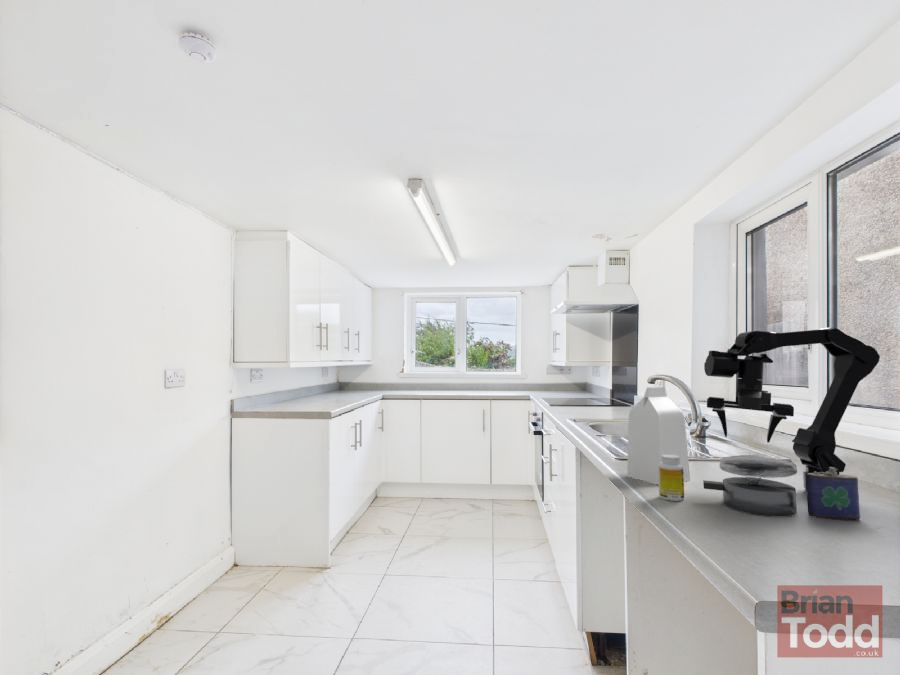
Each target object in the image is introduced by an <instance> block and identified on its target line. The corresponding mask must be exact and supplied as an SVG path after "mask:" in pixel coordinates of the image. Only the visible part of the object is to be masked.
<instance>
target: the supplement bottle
mask: <svg viewBox="0 0 900 675" xmlns="http://www.w3.org/2000/svg"><path fill="white" fill-rule="evenodd" d="M679 463H680V460H679V456H676V455H662V463H659V465H658V475H659V485H658V495H659V498H661V499H662V500H665V501H669V500H670V501H671V502H681V501H683V500H684V499H685V482H684V474H683V466H682V465H681V464H679Z"/></svg>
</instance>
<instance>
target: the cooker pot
mask: <svg viewBox="0 0 900 675" xmlns="http://www.w3.org/2000/svg"><path fill="white" fill-rule="evenodd" d="M702 484H703V489H705V490H711V491H712V490H714V491H722V497H723V498H722V501H723V502H722V503H723V504H724V505H725V506H726V507H728V508H730V509H732V510H734V511H738V512H742V513H746V514H749V513H750V515H755V514H756V516H761V515H763V516H762V517H771V516H787V517H793V516H795V515H797V513H798V512H797V511H798V510H797V492H796V491H797V489H796V487H794V485H790V484H788V483H784V482H781V481H777V480H772V479H771V480H770V479H768V478H759V477H748V476H739V477H738V476H737V477H736V476H735V477H727V478H724V479H722V482H721V481H714V480H713V481H712V480H703V482H702ZM792 515H793V516H792Z"/></svg>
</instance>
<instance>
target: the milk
mask: <svg viewBox="0 0 900 675" xmlns="http://www.w3.org/2000/svg"><path fill="white" fill-rule="evenodd" d="M627 433H628V434H627V439H628V440H627V467H626V468H627V470H626V471H627V474H626V477H627V476H628V477H627V478H630V477H632V478H631V479H634V478H636V479H635V480H637V479H640V480H639V481H641V480H644V481H643V482H645V481H647V482H646V483H649V482H651V483H650V484H652V483H654V484H653V485H656V484H658V485H657V486H659V475H658V465H659V463H662V455H676V456H679V460H680V463H679V464H681V465H682V466H683V474H684V481H686V482H690V481H691V473H690V472H691V471H690V461H689V451H688V450H689V449H688V440H687V431H686V418H685V415H684V412H683V411H682V410H681V409H680V408H679V407H678V406H677V404H676V403H674V401H673V400H671V399H670V398H669V397H668V394H667V391H666V387H665V386H652V387H651V386H647V387H646V389H645V392H644V396H643V398H641V399H640V400H639V401H638V402H637V403H636V404H635V405H634V406H633V407H632V408H631V410H630V411H629V413H628V429H627ZM689 480H690V481H689Z"/></svg>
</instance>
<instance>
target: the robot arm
mask: <svg viewBox="0 0 900 675" xmlns="http://www.w3.org/2000/svg"><path fill="white" fill-rule="evenodd" d="M815 344H820V345H822V346H823V347H824V348H825V350H826V352H828V354H829V355H831V356H832V357H834V358H835V359H834V363H833V368H834V369H833V370H834V378H833V380H832V382H831V383H830V386H829V388H828V390H827V392H826V394H825V395H824V396H825V397H824V399H823V401H822V402H821V405H820V407H819V409H818V411H817V413H816V415H815V417H814V418H813V420H812V423H811V425H810V426H808V428H801V427H799V428H798V429H797V431H796V435H795V437H794V438H793V439H792V440H791V442H792V443H793V445H792V450H793V453H794V454H795V456H796V457H798V459H799V460H800V463H801V465H804V466H805V471H802V473H803V474H802V475H803V488H804V489H805V490H806V491H807V485H806V474H807V473H814V471H816V472H817V473H819V472H824V473H825V472H827V471H829V469H830V468H829V467H834V468H835V469H838V470H836V472H837V475H840V473H844V471H845V470H846V466H847V464H846V463H845V462H844V461H843V460H842V459H841V458H840V457H838V456H837V455H836V454H835V450H836V447H837V442H836V431H837V428H838V427H839V424H840V422H841V421H842V419H843V416H844V414H845V412H846V410H847V409H848V406H849V404H850V401H851V400H852V397H853V395H854V394H855V392H856V389H857V387H858V385H859V383H860V382H861V381H862V380H864V379H865V378H866V377H868V375H870V374H871V373H872V372H873V371H874V370H875V368H876V367H877V365H878V364H879V362H880V358H881V357H880V354H879V353H878V350H876V349H875V347H874V346H871V345H868V344H867V345H866V344H865V343H864V342H863V341H861V340H860V339H857V338H856V337H853V336H850V335H848V334H846V333H845V332H843V331H842V330H841V329H839V328H837V327H831V326H830V327H824V328H819V329H810V330H801V331H800V330H799V331H798V330H797V331H789V332H775V331H774V332H773V331H766V330H764V331H763V330H751V331H744V332H740V333H739V334H738V335H737V336H736V337H735V340H734V344H733V345H732V346H730V348H729V349H728V350H727V351H718V350H709V351H708V355H707V356H706V359H705V362H704V366H703V367H704V374H705V375H706V376H707V377H719V378H729V379H730V378H733V377H734V376H735V375H736V386H735V387H736V388H735V400H725V397H718V396H717V397H716V396H709V397H707V398H706V408H708V409H711V411H712V412H715V413H716V414H717V417H718V418H719V421H720V423H721V428H722V430H723V434H724V437H725V438H727V437H728V427H727V426H728V425H727V417H726V409H725V408H730V409H731V408H732V409H741V410H750V411H760V412H769V413H772V414H770V419H769V422H768V428H767V434H766V442H767V443H770V442H771V439H772V436H773V434H774V432H775V431H776V428H777V427H778V425H779V423H780V422H781V421H782V420H787V419H788V417H794V416H795V415H794V414H795V412H794V411H795V408H794V406H793V405H792V404H789V403H780V402H779V403H778V402H772V391H771V390H763V384H764V383H763V380H764V364H772V363H774V360H773V359H772V358H770V357H769V356H768V355H767V353H765V352H768V351H773V350H776V349H779V348H782V347H792V346H805V345H815ZM752 354H759V355H752ZM738 357H744V358H738ZM771 403H772V404H771ZM819 474H823V473H819Z"/></svg>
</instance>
